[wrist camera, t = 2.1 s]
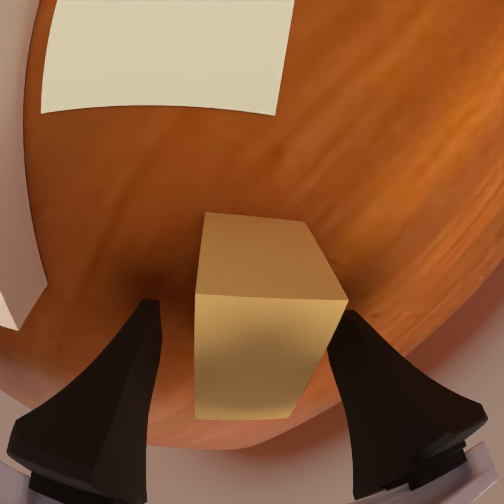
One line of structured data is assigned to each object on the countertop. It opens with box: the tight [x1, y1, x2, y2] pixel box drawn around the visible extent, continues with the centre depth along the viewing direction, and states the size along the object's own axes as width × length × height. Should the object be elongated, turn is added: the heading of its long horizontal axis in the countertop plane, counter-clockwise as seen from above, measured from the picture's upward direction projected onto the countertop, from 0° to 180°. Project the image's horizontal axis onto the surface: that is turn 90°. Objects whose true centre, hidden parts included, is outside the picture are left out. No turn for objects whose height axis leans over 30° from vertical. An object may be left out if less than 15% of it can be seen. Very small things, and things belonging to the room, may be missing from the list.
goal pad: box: [41, 0, 294, 116], centre depth 7 cm, size 9×6×1 cm, turn 82°
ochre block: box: [194, 212, 349, 420], centre depth 11 cm, size 4×7×5 cm, turn 172°
